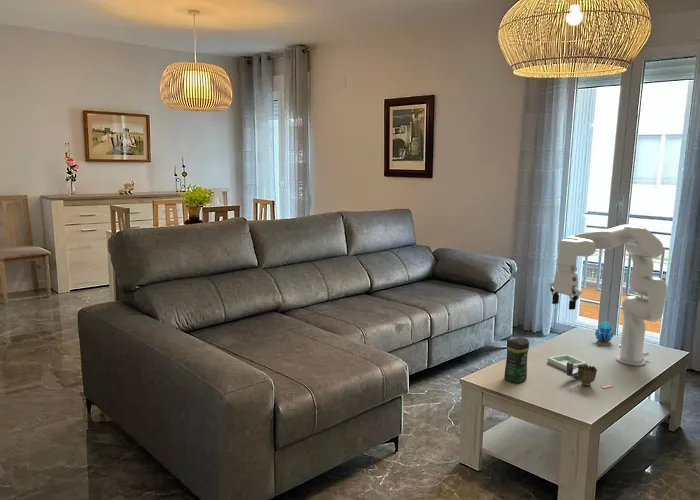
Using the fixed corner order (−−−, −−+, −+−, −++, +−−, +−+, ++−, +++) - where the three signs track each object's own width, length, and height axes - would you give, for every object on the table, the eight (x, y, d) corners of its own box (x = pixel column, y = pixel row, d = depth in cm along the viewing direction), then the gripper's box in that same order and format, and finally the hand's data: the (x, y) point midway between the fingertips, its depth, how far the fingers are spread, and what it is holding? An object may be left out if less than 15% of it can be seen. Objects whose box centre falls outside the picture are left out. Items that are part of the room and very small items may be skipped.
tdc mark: (610, 385, 229) (610, 385, 229) (612, 386, 228) (612, 386, 228) (601, 387, 227) (601, 386, 227) (604, 388, 226) (604, 387, 226)
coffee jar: (517, 385, 228) (520, 343, 225) (501, 379, 234) (503, 338, 231) (530, 379, 234) (532, 338, 232) (514, 374, 240) (516, 334, 238)
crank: (580, 368, 242) (581, 355, 242) (589, 370, 239) (590, 358, 238) (563, 375, 234) (564, 362, 233) (571, 378, 231) (572, 365, 230)
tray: (566, 359, 260) (567, 354, 260) (586, 368, 249) (587, 362, 249) (547, 362, 255) (547, 357, 255) (566, 371, 244) (567, 366, 244)
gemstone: (594, 340, 289) (596, 318, 287) (612, 342, 286) (614, 320, 284) (594, 344, 282) (596, 322, 280) (612, 346, 279) (615, 324, 277)
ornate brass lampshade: (597, 389, 225) (599, 371, 224) (578, 387, 227) (580, 369, 225) (593, 382, 232) (594, 364, 231) (574, 380, 234) (576, 363, 233)
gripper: (588, 271, 227) (585, 310, 230) (558, 264, 243) (555, 301, 245) (575, 272, 224) (572, 312, 227) (545, 265, 240) (542, 302, 243)
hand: (563, 306), depth 236 cm, fingers open, 9 cm apart
